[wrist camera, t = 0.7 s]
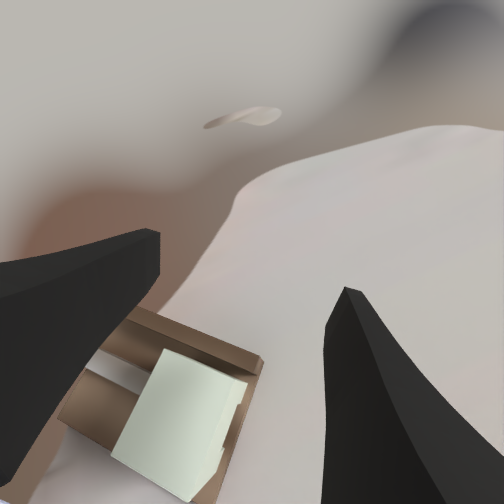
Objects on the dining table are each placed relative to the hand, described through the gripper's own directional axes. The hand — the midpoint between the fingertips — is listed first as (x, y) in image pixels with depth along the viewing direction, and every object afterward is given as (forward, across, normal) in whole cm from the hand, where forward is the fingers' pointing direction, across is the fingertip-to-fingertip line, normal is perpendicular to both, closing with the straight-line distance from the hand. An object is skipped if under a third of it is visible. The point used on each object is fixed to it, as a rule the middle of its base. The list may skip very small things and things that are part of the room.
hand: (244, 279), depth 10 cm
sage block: (+2, +1, +15) cm, 16 cm away
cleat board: (+4, +5, +17) cm, 18 cm away
